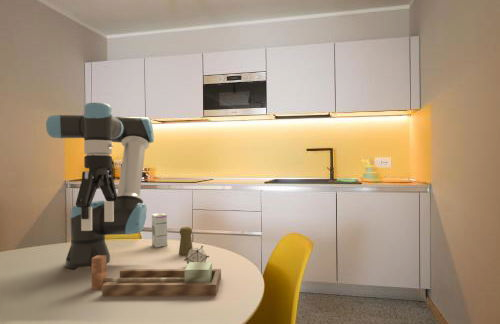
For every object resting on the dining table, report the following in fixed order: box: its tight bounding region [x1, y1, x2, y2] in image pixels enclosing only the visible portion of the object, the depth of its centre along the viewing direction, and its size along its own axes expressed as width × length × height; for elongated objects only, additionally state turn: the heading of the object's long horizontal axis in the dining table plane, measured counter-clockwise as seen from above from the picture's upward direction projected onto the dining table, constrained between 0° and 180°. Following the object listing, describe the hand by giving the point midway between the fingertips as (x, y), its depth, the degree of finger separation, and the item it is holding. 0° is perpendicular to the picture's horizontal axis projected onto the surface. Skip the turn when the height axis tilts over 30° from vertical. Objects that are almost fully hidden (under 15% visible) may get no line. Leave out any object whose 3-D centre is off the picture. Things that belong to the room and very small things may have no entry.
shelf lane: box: [101, 268, 222, 297], centre depth 95 cm, size 32×13×4 cm, turn 89°
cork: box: [178, 226, 194, 257], centre depth 133 cm, size 6×6×11 cm
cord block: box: [91, 255, 213, 290], centre depth 95 cm, size 35×7×9 cm, turn 89°
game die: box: [183, 245, 210, 265], centre depth 113 cm, size 9×8×10 cm
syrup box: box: [151, 212, 168, 248], centre depth 146 cm, size 6×6×14 cm
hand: (98, 225), depth 95 cm, fingers open, 13 cm apart
